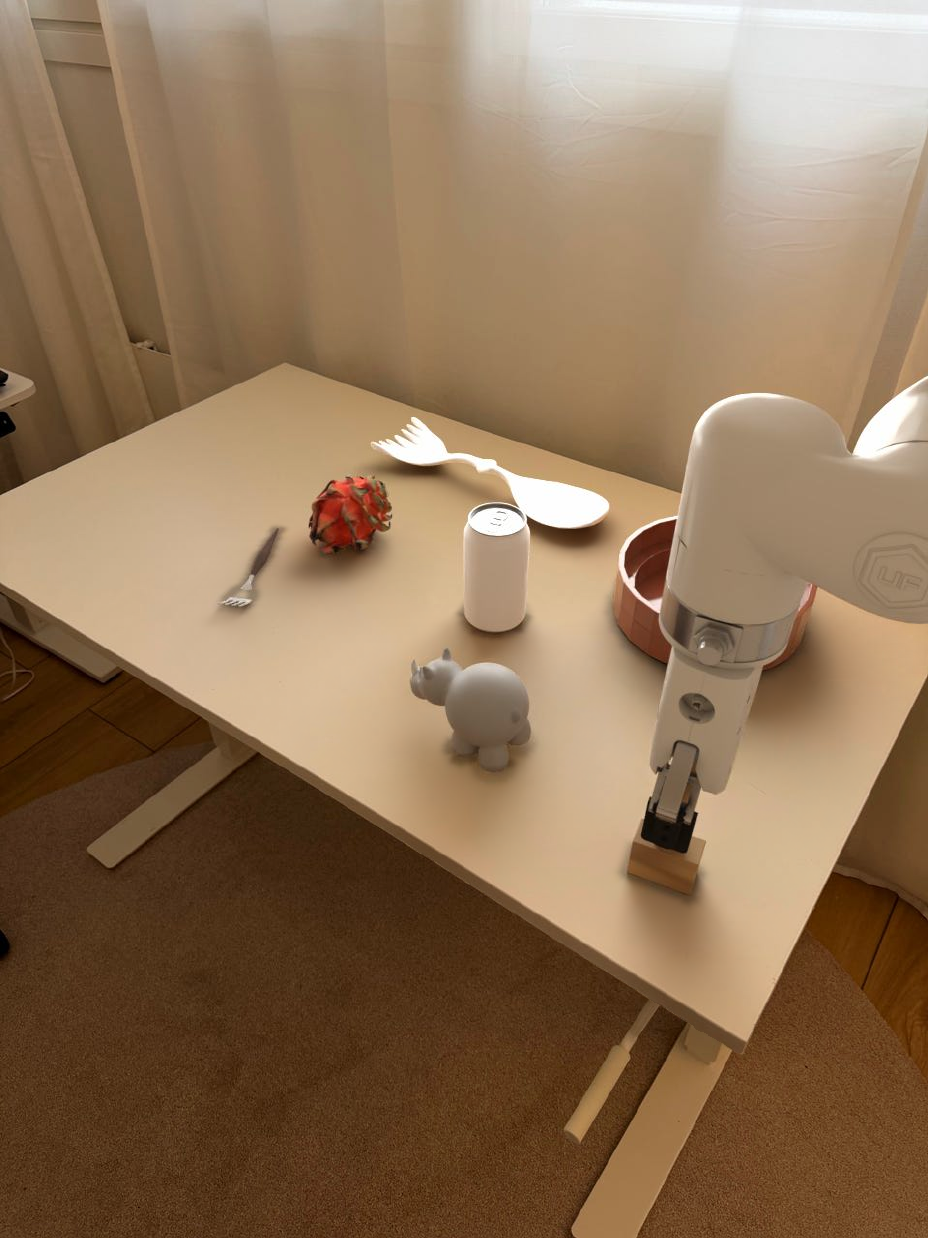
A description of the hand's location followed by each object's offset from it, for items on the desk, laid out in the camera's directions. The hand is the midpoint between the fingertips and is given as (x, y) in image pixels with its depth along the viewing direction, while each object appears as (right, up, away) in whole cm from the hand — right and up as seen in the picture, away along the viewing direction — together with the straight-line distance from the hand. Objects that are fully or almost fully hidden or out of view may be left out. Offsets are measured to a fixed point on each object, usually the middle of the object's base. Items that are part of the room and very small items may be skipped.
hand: (680, 794), depth 63 cm
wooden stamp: (0, -7, +6) cm, 10 cm away
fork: (-38, +17, +36) cm, 55 cm away
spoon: (-12, +29, +48) cm, 57 cm away
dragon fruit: (-28, +21, +40) cm, 53 cm away
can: (-12, +13, +30) cm, 35 cm away
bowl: (+10, +13, +29) cm, 34 cm away
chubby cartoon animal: (-15, +2, +18) cm, 23 cm away
